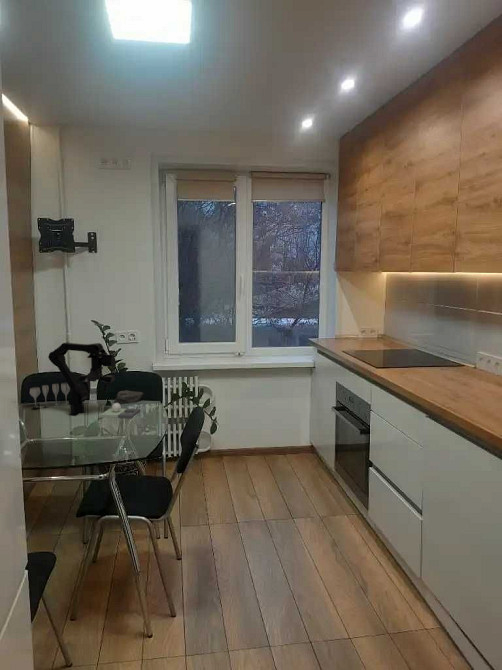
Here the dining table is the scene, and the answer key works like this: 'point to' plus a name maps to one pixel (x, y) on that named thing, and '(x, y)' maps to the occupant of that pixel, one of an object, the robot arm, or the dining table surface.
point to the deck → (120, 413)
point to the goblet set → (55, 387)
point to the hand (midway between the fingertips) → (97, 393)
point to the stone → (129, 397)
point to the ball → (116, 407)
